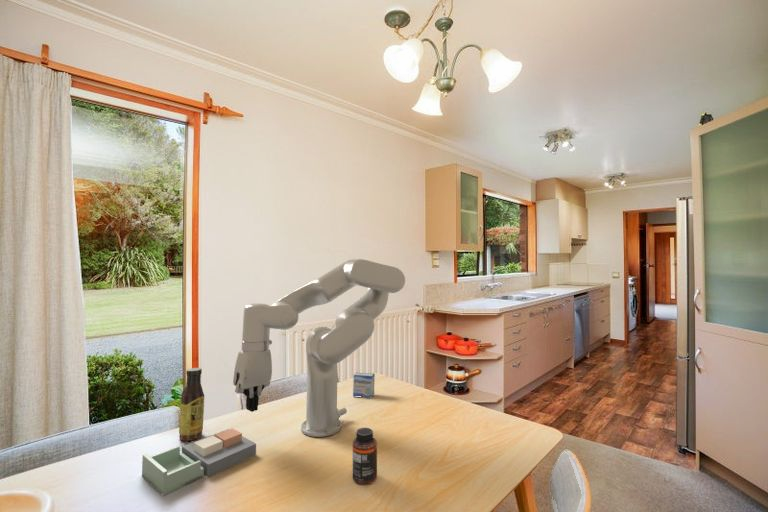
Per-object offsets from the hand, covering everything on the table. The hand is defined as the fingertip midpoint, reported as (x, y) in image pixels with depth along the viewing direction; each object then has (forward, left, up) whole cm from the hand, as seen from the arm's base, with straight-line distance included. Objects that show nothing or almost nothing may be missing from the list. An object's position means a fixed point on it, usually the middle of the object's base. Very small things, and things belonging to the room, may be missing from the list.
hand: (251, 409), depth 103 cm
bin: (+21, 0, -9) cm, 23 cm away
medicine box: (-49, +1, -10) cm, 50 cm away
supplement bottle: (-7, +37, -10) cm, 39 cm away
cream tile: (+13, 0, -6) cm, 14 cm away
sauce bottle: (+9, -17, -9) cm, 21 cm away
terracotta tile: (+7, 0, -6) cm, 10 cm away
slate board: (+10, 0, -9) cm, 13 cm away
